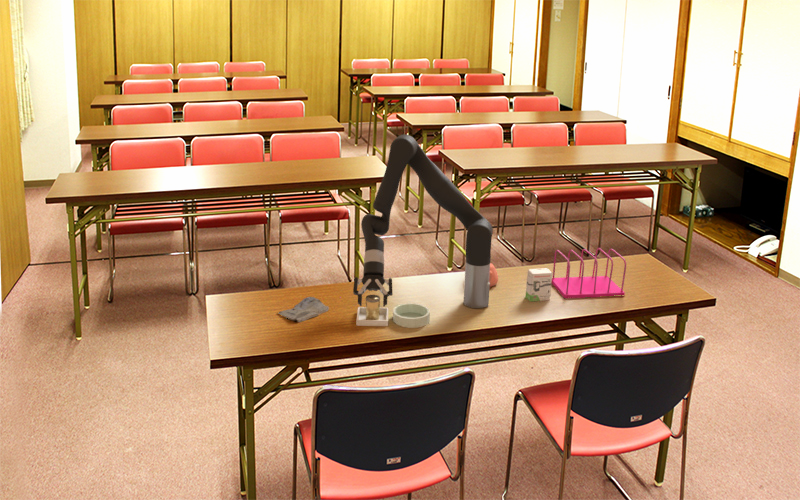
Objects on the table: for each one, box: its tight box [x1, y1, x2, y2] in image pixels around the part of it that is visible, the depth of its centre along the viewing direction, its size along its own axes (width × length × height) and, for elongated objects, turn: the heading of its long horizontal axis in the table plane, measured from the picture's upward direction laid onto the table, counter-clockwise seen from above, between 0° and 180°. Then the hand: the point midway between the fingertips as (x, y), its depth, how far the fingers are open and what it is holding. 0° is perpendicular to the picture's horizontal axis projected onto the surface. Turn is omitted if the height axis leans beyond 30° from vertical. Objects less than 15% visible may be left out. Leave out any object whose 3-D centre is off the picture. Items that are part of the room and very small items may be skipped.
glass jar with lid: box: [365, 294, 381, 320], centre depth 257 cm, size 5×5×8 cm
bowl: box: [392, 302, 431, 329], centre depth 258 cm, size 13×13×4 cm
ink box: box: [524, 267, 553, 302], centre depth 278 cm, size 9×5×12 cm, turn 102°
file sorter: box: [551, 247, 627, 299], centre depth 288 cm, size 17×25×16 cm
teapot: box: [489, 262, 499, 288], centre depth 293 cm, size 12×18×10 cm
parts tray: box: [355, 306, 389, 327], centre depth 259 cm, size 11×11×2 cm
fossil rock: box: [277, 296, 330, 323], centre depth 265 cm, size 18×15×2 cm
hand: (372, 305), depth 257 cm, fingers open, 8 cm apart
